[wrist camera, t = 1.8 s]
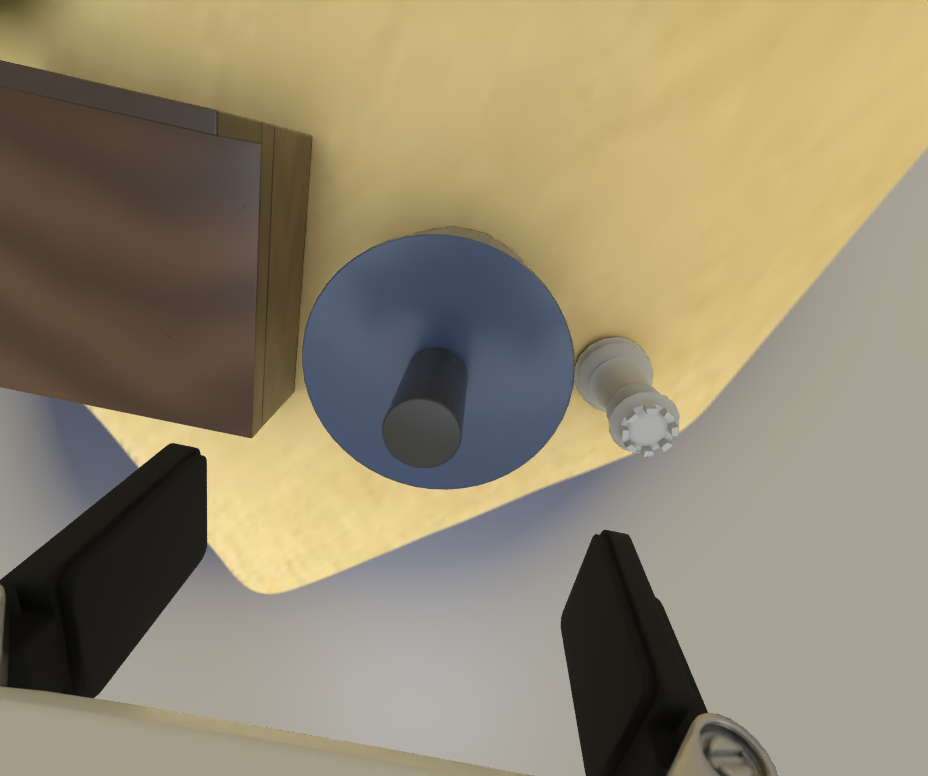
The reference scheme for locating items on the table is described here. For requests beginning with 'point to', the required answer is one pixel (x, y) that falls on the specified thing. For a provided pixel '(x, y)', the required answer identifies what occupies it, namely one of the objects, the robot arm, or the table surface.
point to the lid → (438, 361)
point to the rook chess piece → (626, 395)
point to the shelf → (148, 252)
